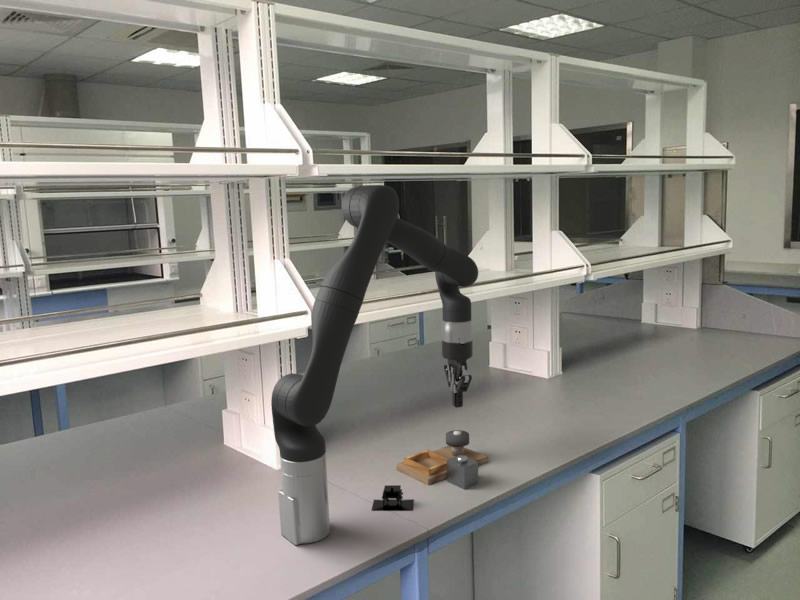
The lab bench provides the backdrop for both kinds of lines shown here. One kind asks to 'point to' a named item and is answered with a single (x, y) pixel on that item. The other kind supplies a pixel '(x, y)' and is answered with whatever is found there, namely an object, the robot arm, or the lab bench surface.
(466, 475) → the grey box with knob
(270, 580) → the lab bench surface
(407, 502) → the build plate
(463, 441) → the wheel
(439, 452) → the wooden base board
